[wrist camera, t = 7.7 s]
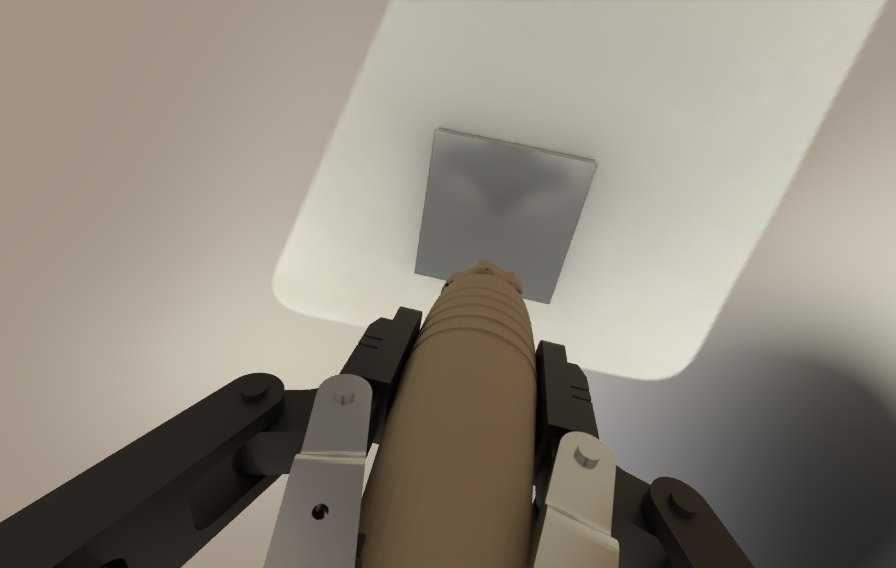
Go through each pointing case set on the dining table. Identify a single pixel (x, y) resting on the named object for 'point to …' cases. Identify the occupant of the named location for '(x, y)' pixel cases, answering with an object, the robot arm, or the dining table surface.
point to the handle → (459, 436)
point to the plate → (501, 209)
